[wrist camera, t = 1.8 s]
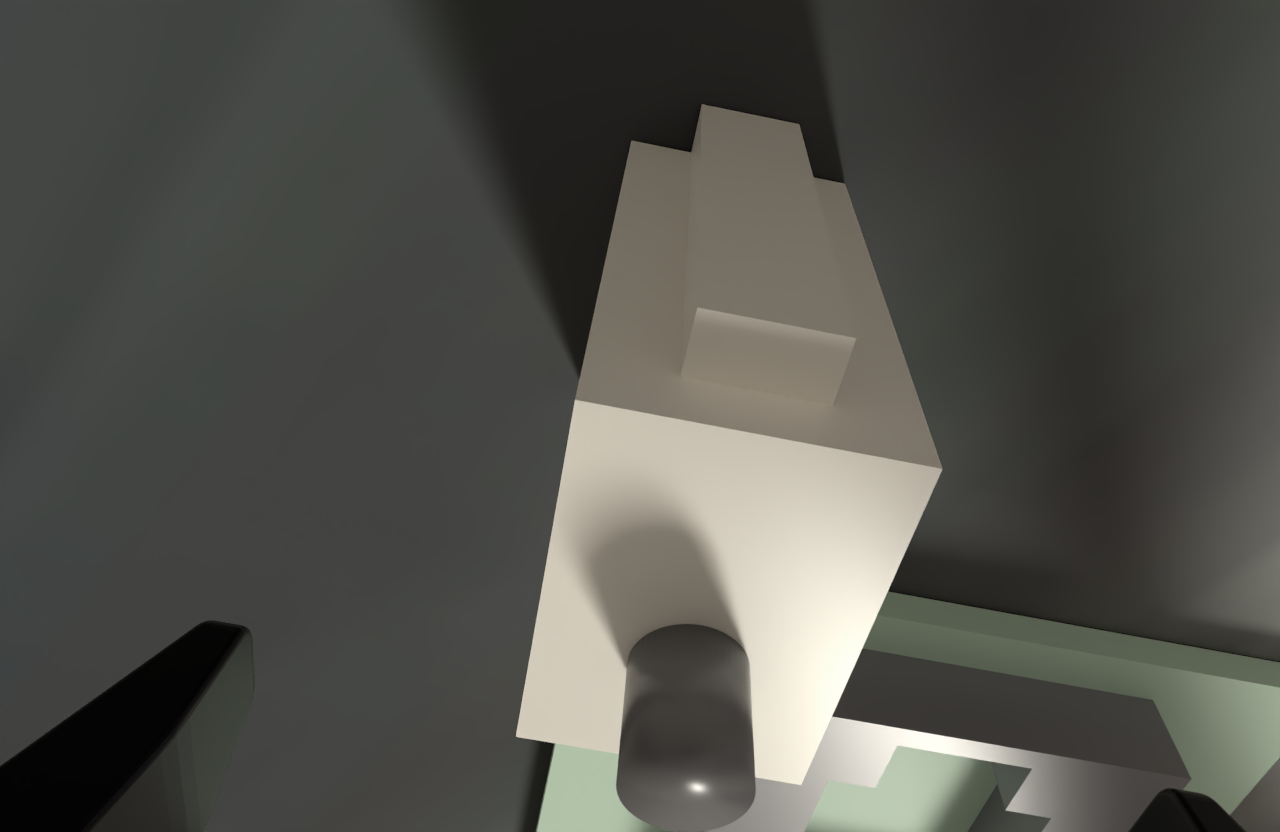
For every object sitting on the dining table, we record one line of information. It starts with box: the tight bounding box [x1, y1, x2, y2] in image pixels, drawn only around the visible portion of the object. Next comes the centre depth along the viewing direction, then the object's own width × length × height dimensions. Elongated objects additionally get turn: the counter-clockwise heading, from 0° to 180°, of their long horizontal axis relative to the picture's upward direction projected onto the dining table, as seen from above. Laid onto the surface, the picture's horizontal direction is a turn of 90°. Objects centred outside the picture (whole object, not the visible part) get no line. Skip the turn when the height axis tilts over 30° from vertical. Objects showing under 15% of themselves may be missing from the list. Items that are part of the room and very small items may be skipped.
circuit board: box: [536, 592, 1280, 832], centre depth 24 cm, size 16×12×1 cm
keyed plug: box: [516, 104, 942, 832], centre depth 13 cm, size 4×6×10 cm, turn 170°
